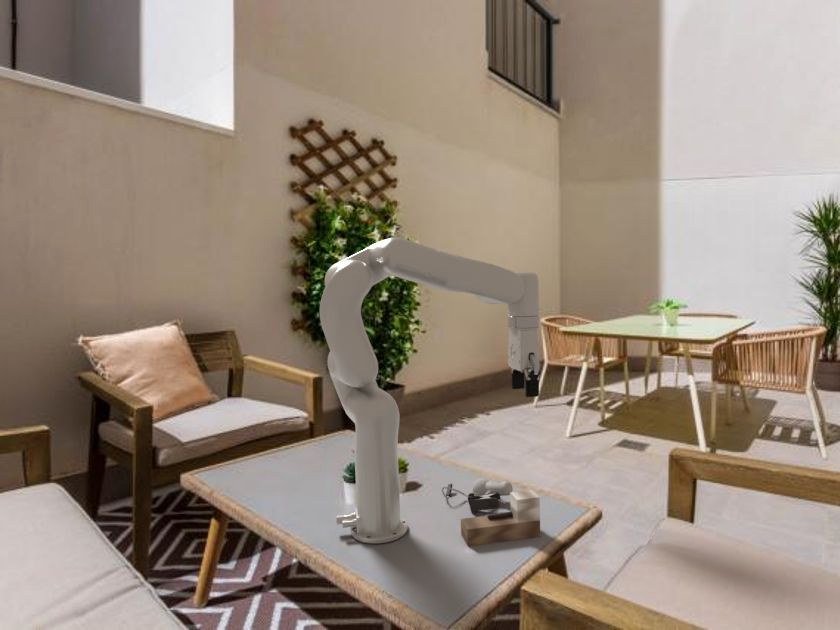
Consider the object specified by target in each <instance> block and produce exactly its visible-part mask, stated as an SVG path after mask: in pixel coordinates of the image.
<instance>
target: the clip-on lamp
mask: <svg viewBox="0 0 840 630" xmlns="http://www.w3.org/2000/svg"><path fill="white" fill-rule="evenodd" d="M453 486H454V485H453V482H450V483H449V484H447V486H443V487H442V488H441V493H442V496H443V497H444V498H445V499H449V497H451V495H452V492H453V491H454V492H457V493H458V494H460V495H463V496H465V497H466V498H467V500H468V505H469V509H470V512H471V514H472V515H473V514H474V515H477V514H478V512H479V511H489V510H490V511H491V510H498V509H500V507H501V506H500V503H503V504H504V505H505V504H506V502H507V501H505V500H504V499H502V498H501V497H502V496H503V497H504V496H506V497H507V496H510V492H513V491H514V490H513V485H512V484H511V482H510V481H508V480H500V481H499V480H497V481H496V480H495V481H490V480H488V479H487V478H483V477H481V478H478V479H475V481H474V484H473V485H472V492H470V493H468V494H466V493H465V492H462V491H460V490H458V489H455V488H453ZM444 489H446V494H445V492H444Z"/></svg>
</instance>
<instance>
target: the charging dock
mask: <svg viewBox="0 0 840 630" xmlns="http://www.w3.org/2000/svg"><path fill="white" fill-rule="evenodd" d="M509 496H510V497H509V498H510V499H509V502H510V511H507V512H505V511H504V512H498V513H497V512H496V513H490V514H485V515H481V516H472V517H466V518H460V535H461V537H462V539H463V541H464V542H465V544H466V545H467V547H470V546H478V545H486V544H493V543H502V542H508V541H514V540H515V541H516V540H523V539H529V538H532V539H533V538H539V537H541V507H540V506H541V504H540V502H541V501H540V496H539V495H538V494H537V493H536V492H535V491H534V490H532V489H530V490H521V491H512V492H510V495H509Z"/></svg>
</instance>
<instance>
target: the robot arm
mask: <svg viewBox="0 0 840 630" xmlns="http://www.w3.org/2000/svg"><path fill="white" fill-rule="evenodd" d="M389 277H396V278H399V279H403V280H406V281H410V282H413V283H417V284H420V285H423V286H426V287H429V288H432V289H436V290H440V291H445V292H452V293H453V292H454V293H455V292H456V293H457V292H458V293H466V294H471V295H474V296H475V297H476V298H477V299H478V301H480V302H482V303H485V304H490V305H507V330H508V331H509V332H508V343H507V364H508V366H509V368H510V372H511V374H510V375H511V389H513V390H521V389H522V390H523V389H525V390H524V391H525V393H524V395H525V397H526V398H534V397H540V373H541V372H540V368H541V363H540V346H539V345H540V344H539V336H538V330H540V296H539V295H540V292H539V291H540V289H539V276H538V274H537V273H535V272H515V271H512V270H509V269H507V268H505V267H504V268H503V267H501V266H498V265H495V264H493V263H488V262H484V261H480V260H475V259H472V258H467V257H464V256H461V255H458V254H457V255H456V254H451V253H448V252H446V251H442V250H439V249H435V248H432V247H430V246H427V245H424V244H421V243H419V242H415V241H413V240H409V239H406V238H402V237H398V236H397V237H396V236H395V237H394V236H393V237H388V238H386V239H382V240H380V241H377V242H376V243H373V244H371V245H370V246H368V247H366V248H364V249H363V250H360V251H358V252H356V253H354V254H352V255H350V256H349V257H346V258H344V259H342V260H340V261H338V262H336V263H334V264H332V265H331V266H330V267H329V268H328V270H327V271H326V273H325V276H324V290H323V291H322V292H323V293H322V295H321V299H320V304H319V321H320V325H321V328H322V331H323V333H324V337H325V340H326V343H327V346H328V349H329V353H328V355H327V368H328V371H329V375H330V378H331V380H332V383H333V386H334V389H335V391H336V393H337V396H338V398H339V401H340V403H341V406H342V408H343V410H344V411H345V414H346V415H347V416H348V418H349V419H350V420H351V421H352V422H353V423H354V425H355V431H354V432H355V434H354V451H353V453H354V470H355V471H354V472H355V476H354V477H355V492H356V493H355V497H356V498H355V499H356V506H355V507H354V511H353V512H350V514H349V513H348V514H338V515H336V518H335V519H336V525H337V526H338V525H342V529H346V528H350V534H351V536H352V537H353V538H354V539H355V540H357V541H359V542H361V543H366V544H373V545H374V544H386V543H389V542H393V541H395V540H398V539H400V538H401V537H404V535H405V534H406V533H407V531H408V530H409V529H408V528H409V526H408V522H407V520H406V518H404V517H403V516H401V506H400V505H401V501H400V481H399V480H400V477H399V476H400V475H399V447H398V446H399V445H398V441H399V439H398V438H399V429H400V428H399V427H400V410H399V406H398V404H397V402H396V400H395V399H394V398H393V396H392V395H391V394H390V393H388V391H385V390H384V389H382V388H380V387H379V385H378V383H377V380H376V378H377V376H378V372H379V364H378V363H379V361H378V359H377V356H376V354H375V352H374V351H375V350H374V349H373V347H372V344H371V342H370V339H369V336H368V334H367V332H366V327H365V325H364V321H363V317H362V312H361V311H362V304H363V302H364V299H365V297H366V296H367V295H368V294H369V292H370V290H371V289H372V287H373V286H374V285H376V284H378V283H380V282H382V281H383V280H385V279H387V278H389ZM525 378H526V379H525Z"/></svg>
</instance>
